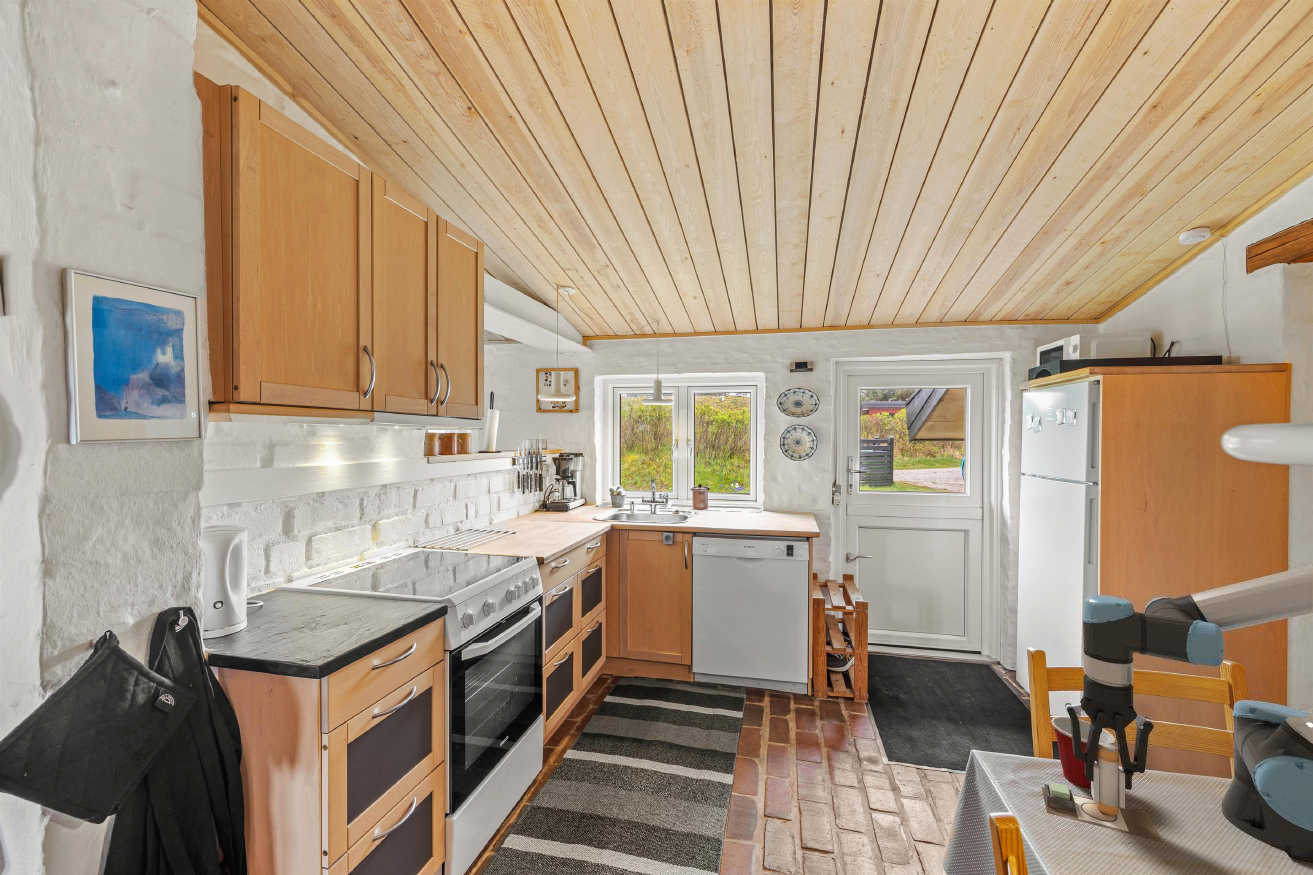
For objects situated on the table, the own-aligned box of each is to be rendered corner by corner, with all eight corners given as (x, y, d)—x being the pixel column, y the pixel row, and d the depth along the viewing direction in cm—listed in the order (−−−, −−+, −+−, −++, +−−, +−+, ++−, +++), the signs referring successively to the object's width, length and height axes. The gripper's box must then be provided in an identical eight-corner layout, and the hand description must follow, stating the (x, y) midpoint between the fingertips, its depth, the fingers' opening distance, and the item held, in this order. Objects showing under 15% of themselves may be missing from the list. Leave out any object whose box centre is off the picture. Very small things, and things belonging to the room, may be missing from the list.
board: (1147, 817, 109) (1147, 801, 109) (1162, 847, 101) (1162, 830, 101) (1041, 791, 117) (1041, 777, 117) (1047, 817, 109) (1047, 801, 109)
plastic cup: (1128, 803, 113) (1127, 743, 113) (1067, 797, 115) (1066, 738, 115) (1097, 772, 124) (1097, 717, 124) (1042, 766, 126) (1041, 712, 126)
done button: (1067, 795, 112) (1067, 785, 112) (1069, 804, 110) (1069, 794, 110) (1049, 791, 114) (1049, 781, 114) (1051, 799, 111) (1051, 789, 111)
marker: (1116, 807, 109) (1116, 745, 109) (1120, 817, 107) (1120, 753, 106) (1095, 801, 111) (1095, 740, 111) (1098, 811, 108) (1098, 749, 108)
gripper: (1157, 679, 108) (1156, 802, 108) (1053, 663, 116) (1053, 778, 116) (1169, 695, 102) (1169, 826, 102) (1059, 677, 109) (1059, 798, 109)
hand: (1107, 800), depth 109 cm, fingers closed on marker, 3 cm apart
